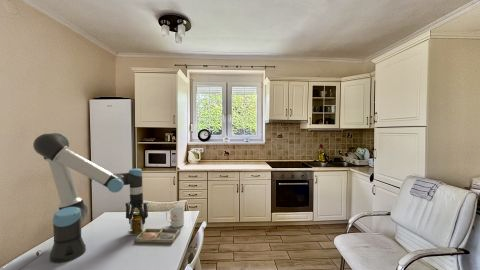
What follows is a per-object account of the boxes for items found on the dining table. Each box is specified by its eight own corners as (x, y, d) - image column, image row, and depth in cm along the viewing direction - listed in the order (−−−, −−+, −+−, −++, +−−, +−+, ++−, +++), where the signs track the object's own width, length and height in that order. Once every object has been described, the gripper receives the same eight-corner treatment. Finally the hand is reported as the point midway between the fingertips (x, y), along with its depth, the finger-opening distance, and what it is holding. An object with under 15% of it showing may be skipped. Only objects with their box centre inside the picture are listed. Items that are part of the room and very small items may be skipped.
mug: (185, 222, 160) (185, 207, 160) (182, 228, 151) (181, 211, 151) (168, 222, 160) (167, 207, 160) (164, 228, 151) (163, 211, 151)
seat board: (171, 244, 130) (171, 239, 130) (134, 243, 132) (134, 239, 132) (179, 232, 144) (179, 229, 144) (146, 232, 146) (145, 228, 146)
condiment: (144, 232, 145) (144, 213, 145) (129, 236, 141) (129, 216, 140) (142, 228, 151) (141, 210, 151) (128, 231, 147) (127, 213, 146)
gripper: (153, 191, 148) (154, 226, 149) (125, 191, 150) (126, 226, 150) (148, 194, 141) (149, 231, 142) (118, 194, 142) (119, 231, 143)
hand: (137, 228), depth 146 cm, fingers closed on condiment, 6 cm apart
